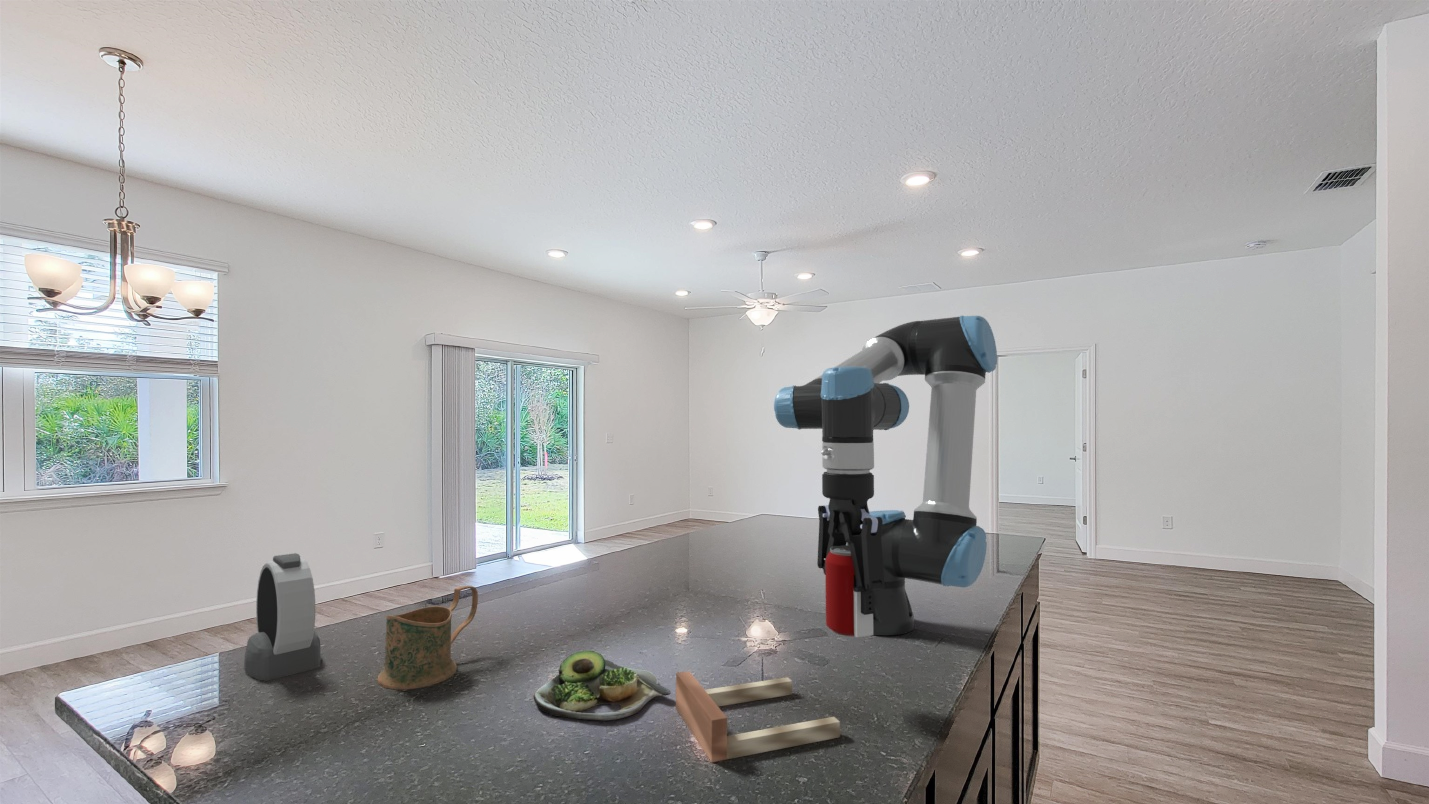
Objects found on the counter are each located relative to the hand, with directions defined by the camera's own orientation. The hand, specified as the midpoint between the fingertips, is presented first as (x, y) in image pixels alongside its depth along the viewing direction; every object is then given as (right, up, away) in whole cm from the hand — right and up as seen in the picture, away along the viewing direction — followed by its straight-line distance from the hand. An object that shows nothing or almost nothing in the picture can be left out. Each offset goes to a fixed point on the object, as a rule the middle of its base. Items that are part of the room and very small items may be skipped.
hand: (849, 626), depth 90 cm
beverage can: (0, -1, 0) cm, 1 cm away
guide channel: (-14, -11, -6) cm, 19 cm away
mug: (-67, -11, +12) cm, 69 cm away
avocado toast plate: (-38, -12, +2) cm, 40 cm away
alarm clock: (-93, -11, +13) cm, 95 cm away
